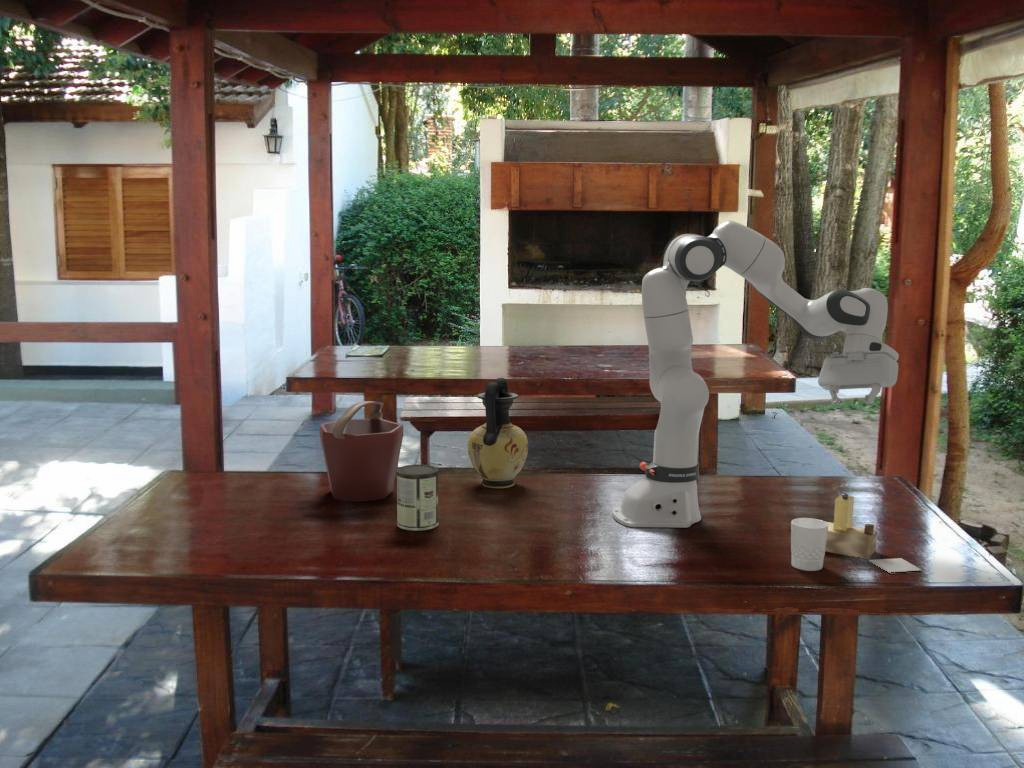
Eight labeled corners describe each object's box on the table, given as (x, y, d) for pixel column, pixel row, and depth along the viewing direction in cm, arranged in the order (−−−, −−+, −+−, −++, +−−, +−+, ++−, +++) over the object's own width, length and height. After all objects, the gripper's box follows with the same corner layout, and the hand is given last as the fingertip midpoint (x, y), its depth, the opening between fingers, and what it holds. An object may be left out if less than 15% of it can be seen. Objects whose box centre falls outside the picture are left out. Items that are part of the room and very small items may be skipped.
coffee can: (409, 516, 272) (409, 462, 269) (445, 522, 267) (446, 467, 265) (388, 527, 262) (388, 471, 260) (425, 533, 258) (425, 476, 256)
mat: (888, 573, 235) (888, 571, 235) (869, 561, 242) (869, 559, 242) (921, 571, 236) (921, 569, 236) (901, 559, 244) (901, 558, 244)
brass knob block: (833, 530, 249) (835, 495, 247) (838, 525, 253) (841, 491, 251) (846, 532, 247) (848, 497, 246) (851, 527, 251) (854, 493, 250)
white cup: (783, 560, 242) (786, 517, 241) (817, 560, 243) (820, 517, 241) (795, 572, 235) (798, 528, 233) (830, 572, 235) (833, 528, 234)
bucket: (364, 477, 309) (364, 392, 304) (423, 490, 296) (423, 401, 292) (301, 495, 289) (300, 404, 285) (361, 510, 276) (360, 415, 272)
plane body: (806, 547, 252) (808, 519, 250) (816, 540, 257) (817, 512, 256) (867, 559, 244) (869, 529, 243) (875, 551, 250) (877, 522, 249)
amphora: (472, 475, 313) (473, 374, 308) (529, 478, 311) (531, 375, 306) (463, 491, 296) (464, 384, 291) (524, 494, 294) (526, 386, 289)
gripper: (818, 350, 273) (808, 400, 269) (891, 343, 257) (881, 397, 253) (832, 359, 276) (822, 409, 273) (905, 354, 261) (895, 407, 257)
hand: (851, 403), depth 263 cm, fingers open, 8 cm apart
